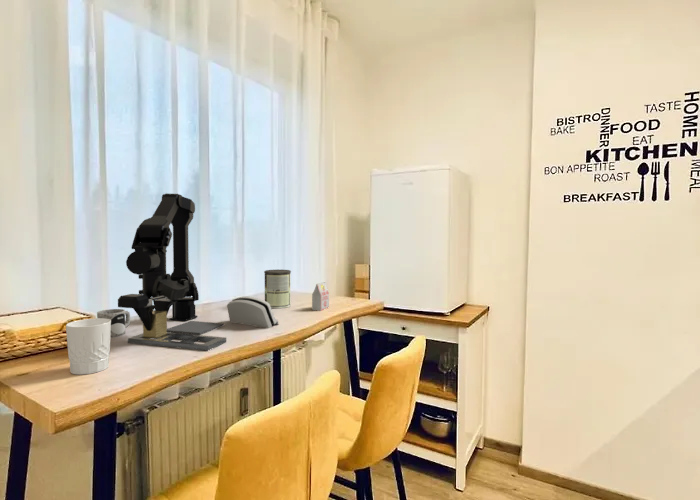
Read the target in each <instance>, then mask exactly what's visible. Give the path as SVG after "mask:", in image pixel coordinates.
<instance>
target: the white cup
mask: <svg viewBox="0 0 700 500" xmlns="http://www.w3.org/2000/svg"><path fill="white" fill-rule="evenodd" d="M65 331H66V343H67V353H68V354H67V355H68V361H69V371H70V374H73V375H78V376H79V375H91V374H95V373H99V372H102V371H105V370H107V369H108V368H109V366H110V365H109V362H110V361H109V357H110V353H111V351H110V349H111V338H112V337H111V320H110V319H103V318H97V317H96V318H88V319H87V318H86V319H79V320H74V321H70V322H68V323H66V325H65Z"/></svg>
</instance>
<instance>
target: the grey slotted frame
mask: <svg viewBox="0 0 700 500" xmlns="http://www.w3.org/2000/svg"><path fill="white" fill-rule="evenodd" d="M176 340H180V341H176ZM197 342H205V343H197ZM129 343H130V344H137V345H148V346H154V347H155V346H156V347H157V346H158V347H168V348H175V349H184V348H185V349H187V350H194V351H195V350H196V351H204V350H205V351H204V352H208V350H209V351H211V350H212V348H213V349H215V348H217V347H219V346H222V345H223V344H226V343H227V337H226V336H225V337H224V336H213V335H211V336H210V335H204V334H201V335H194V334H182V333H171V332H167V335H165V336H162V337H159V338H157V339H154V338H143V333H140V334H137V335H134V336H131V337H128V338H127V344H129ZM210 349H211V350H210Z"/></svg>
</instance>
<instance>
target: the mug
mask: <svg viewBox="0 0 700 500" xmlns="http://www.w3.org/2000/svg"><path fill="white" fill-rule="evenodd" d="M130 314H131V313H130V311H128V310H125V309H123V308H111V309H103V310H99V311H97V312H96V319H97V318H103V319H110V320H111V338H117V337H120V336H121V337H122V336H123V335H125V334H126V328H127V327H129V326H130V324H131V315H130Z"/></svg>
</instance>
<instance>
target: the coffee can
mask: <svg viewBox="0 0 700 500" xmlns="http://www.w3.org/2000/svg"><path fill="white" fill-rule="evenodd" d="M263 272H264V301H266V302H268V303H269V304H270V306H271V309H273V310H274V309H286V308H290V307H291V272H292V271H291V270H289V269H267V270H264V271H263Z"/></svg>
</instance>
